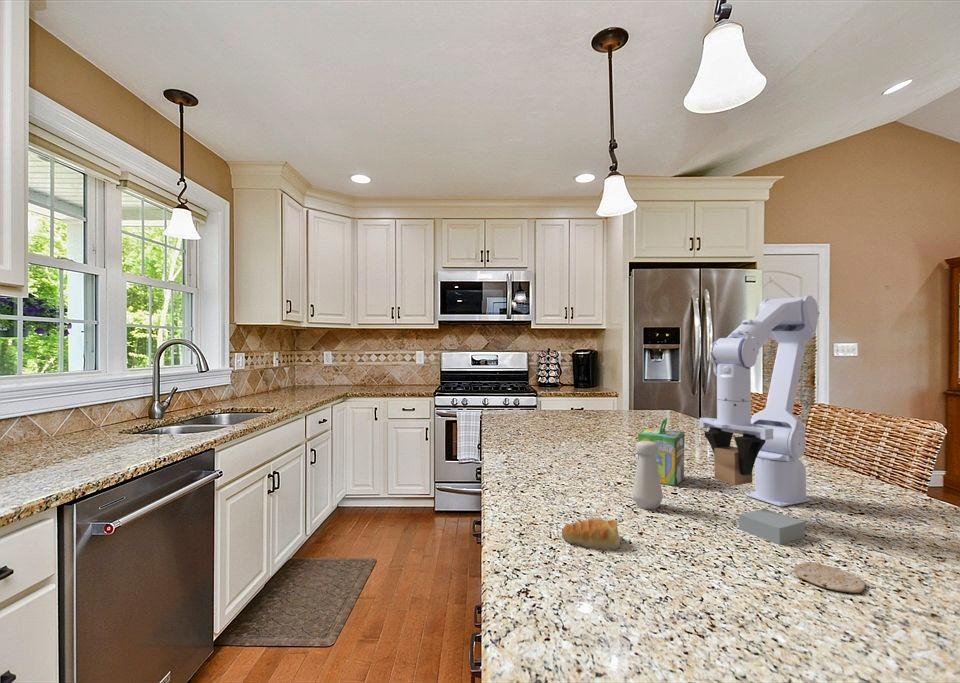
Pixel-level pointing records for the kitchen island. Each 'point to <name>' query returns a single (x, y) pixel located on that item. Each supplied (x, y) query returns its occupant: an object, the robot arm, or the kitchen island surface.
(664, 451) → the chalk box
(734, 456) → the walnut block
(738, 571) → the kitchen island surface
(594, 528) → the pastry
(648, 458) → the salt shaker
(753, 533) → the base slab
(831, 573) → the flatbread
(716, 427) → the robot arm
